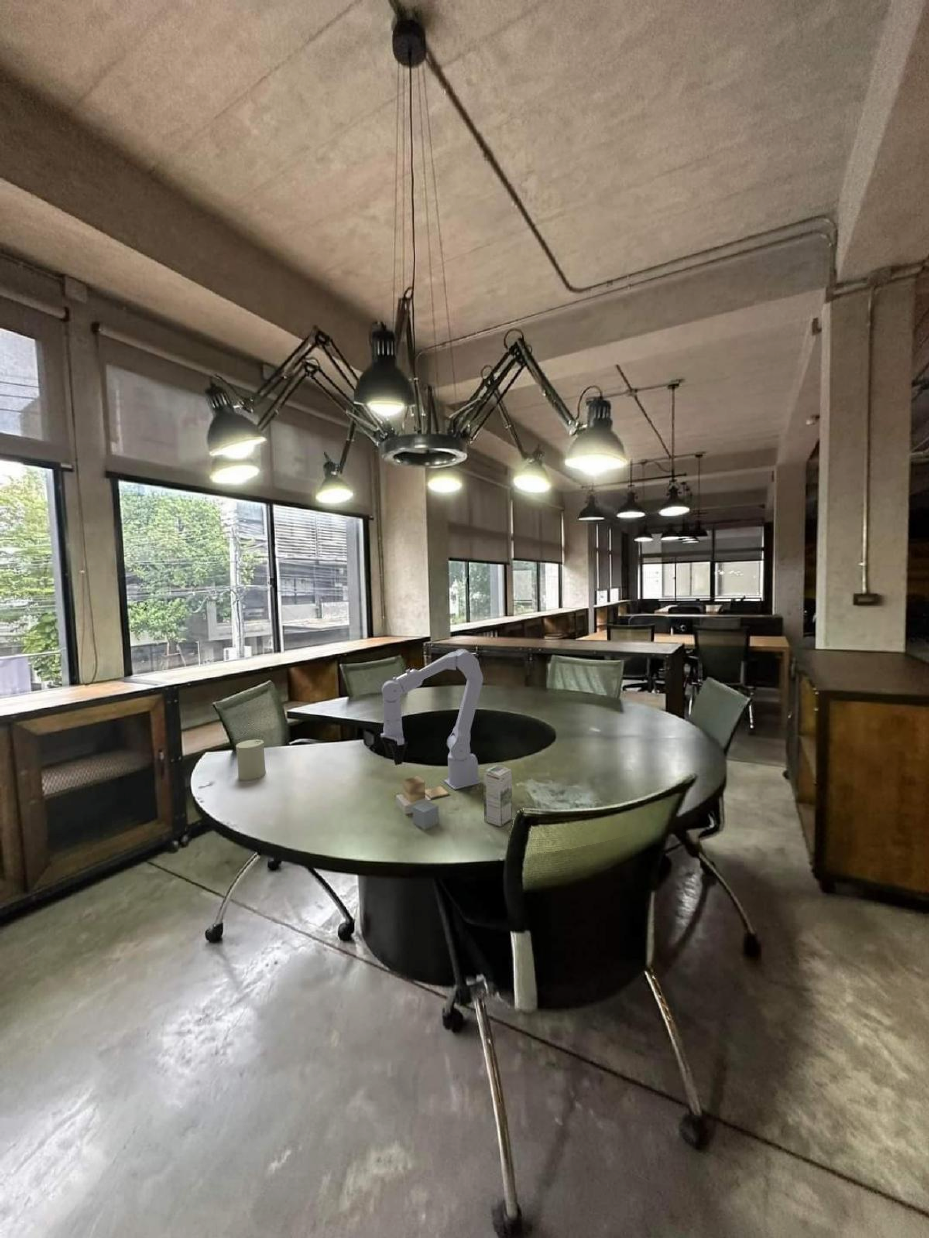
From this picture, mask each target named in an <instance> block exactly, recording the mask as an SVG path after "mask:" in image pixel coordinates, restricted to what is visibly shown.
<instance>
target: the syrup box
mask: <svg viewBox="0 0 929 1238" xmlns="http://www.w3.org/2000/svg"><path fill="white" fill-rule="evenodd" d="M512 771H513V770H512V769H510V768H507V767H505V766H502V765H493V766H491V767H490V768H487V769H486V770H484V771H483V773H482V775H483V821H484V822H486V823H489V824H491V825H494V826H498V827H500V828H501V827H502V826H504V825H506V824H507V823H509V821H511V820H512V819H513V786H512V784H513V779H512V777H513V776H512V775H513V773H512Z"/></svg>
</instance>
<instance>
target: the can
mask: <svg viewBox="0 0 929 1238" xmlns="http://www.w3.org/2000/svg"><path fill="white" fill-rule="evenodd" d="M235 749H236V760H237V761H236V762H237V774H238V775H237V777H238V779H239V780H241V781H251V780H256V779H260V778H262V777H264V776H265V775H266V774H267V770H266V761H265V760H266V759H265V744H264V740H263V739H257V738H256V739H249V740H248V739H247V740H243V741H241V742H239V743H236V744H235Z"/></svg>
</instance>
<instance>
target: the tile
mask: <svg viewBox="0 0 929 1238" xmlns="http://www.w3.org/2000/svg"><path fill="white" fill-rule="evenodd" d="M425 794H426V795H427V796H428V797H429V798H430V799H431V801H433V800H436V799H441V798H446V797H449V796H451V793H449V792H448V791H447V790H446V789H444V788H443V787H442V786H441V785H440V786H436V787H432V788H428V789H425Z"/></svg>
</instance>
